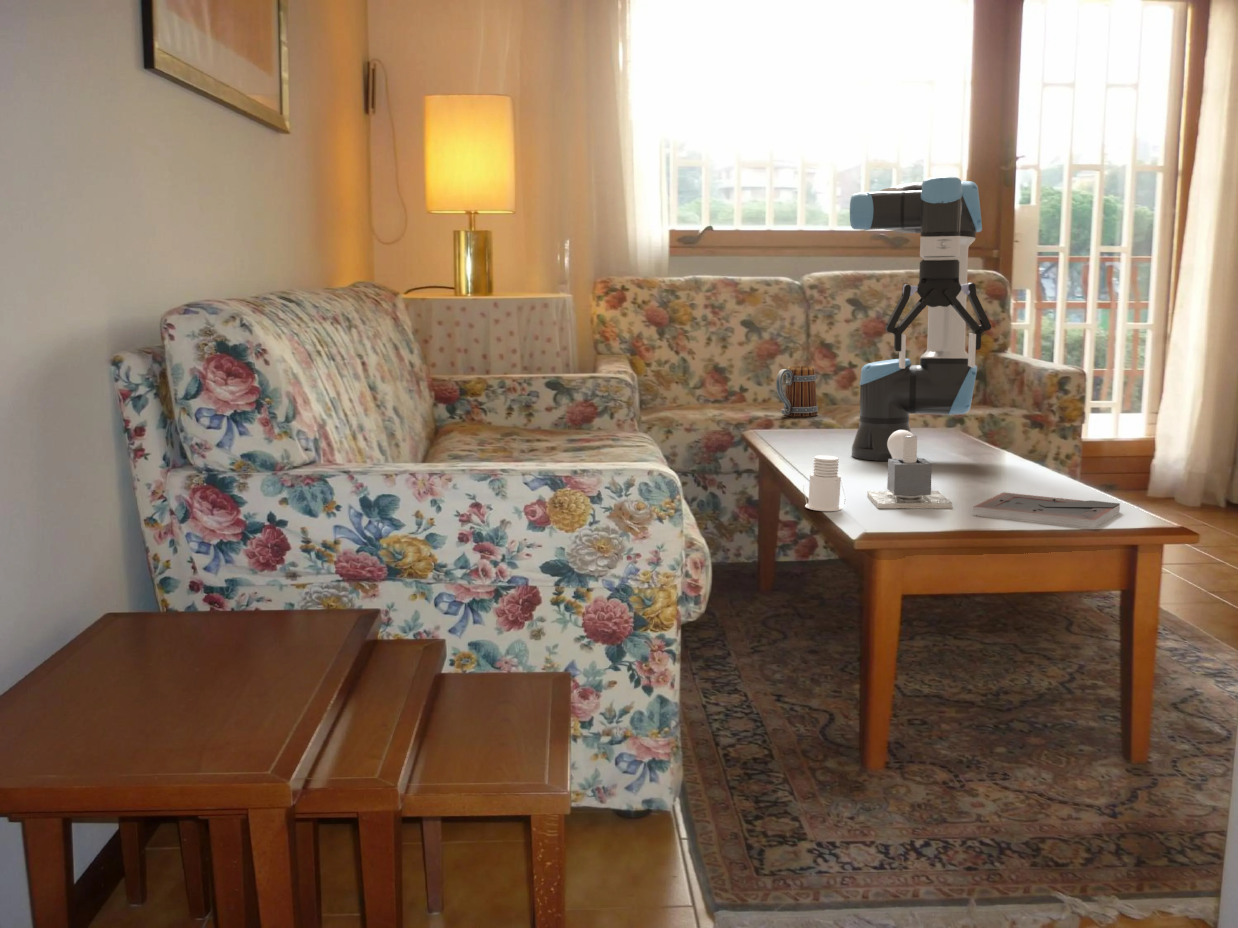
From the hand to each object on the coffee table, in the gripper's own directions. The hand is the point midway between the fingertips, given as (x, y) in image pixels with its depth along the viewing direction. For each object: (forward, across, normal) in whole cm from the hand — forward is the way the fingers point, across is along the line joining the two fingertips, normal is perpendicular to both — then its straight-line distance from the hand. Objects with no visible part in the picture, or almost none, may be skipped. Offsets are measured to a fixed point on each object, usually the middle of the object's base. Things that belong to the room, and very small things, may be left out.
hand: (936, 367), depth 231 cm
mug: (+29, -16, +124) cm, 128 cm away
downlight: (+25, -24, -15) cm, 38 cm away
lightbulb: (+26, -4, +14) cm, 30 cm away
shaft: (+25, -7, -9) cm, 28 cm away
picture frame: (+26, +16, -20) cm, 37 cm away
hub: (+23, -7, -9) cm, 26 cm away
